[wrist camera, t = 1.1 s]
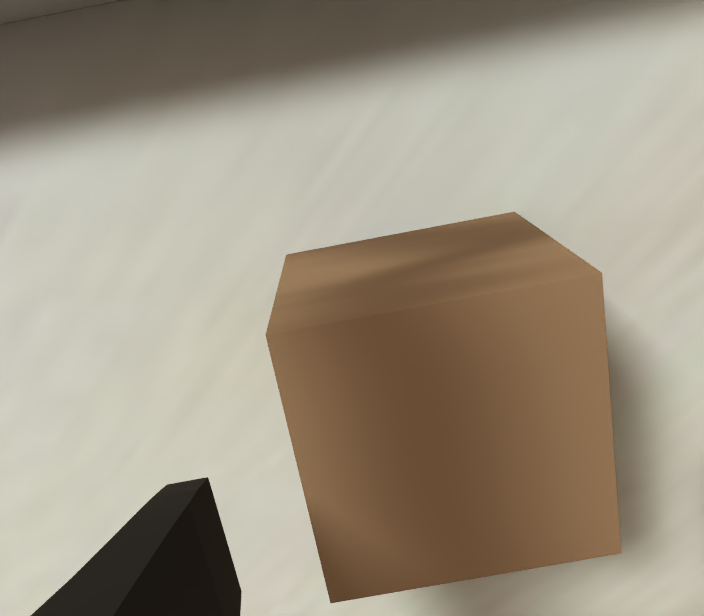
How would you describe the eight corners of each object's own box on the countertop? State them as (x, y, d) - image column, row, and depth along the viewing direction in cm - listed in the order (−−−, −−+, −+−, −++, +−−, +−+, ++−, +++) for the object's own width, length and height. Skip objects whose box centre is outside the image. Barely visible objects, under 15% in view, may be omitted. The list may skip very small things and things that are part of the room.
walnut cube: (513, 211, 15) (601, 272, 10) (535, 415, 16) (621, 553, 11) (286, 253, 15) (266, 335, 10) (330, 451, 16) (330, 603, 12)
